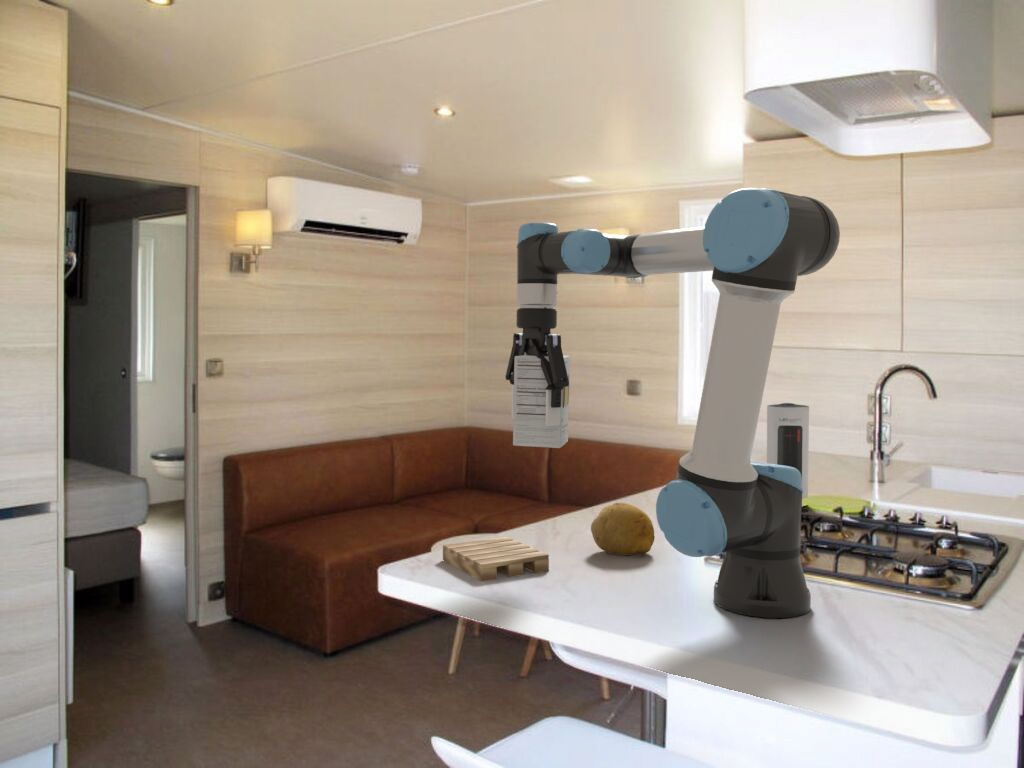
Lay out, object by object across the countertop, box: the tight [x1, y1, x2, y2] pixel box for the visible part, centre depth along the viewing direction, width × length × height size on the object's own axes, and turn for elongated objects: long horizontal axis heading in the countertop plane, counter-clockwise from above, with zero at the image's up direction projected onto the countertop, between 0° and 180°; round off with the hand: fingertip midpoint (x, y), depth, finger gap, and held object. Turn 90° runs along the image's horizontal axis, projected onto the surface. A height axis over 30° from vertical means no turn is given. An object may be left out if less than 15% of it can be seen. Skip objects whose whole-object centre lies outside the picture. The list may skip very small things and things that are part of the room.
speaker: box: [766, 402, 810, 499], centre depth 220 cm, size 11×10×26 cm
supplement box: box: [512, 355, 571, 449], centre depth 161 cm, size 10×9×17 cm
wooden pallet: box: [442, 536, 550, 582], centre depth 161 cm, size 16×14×3 cm
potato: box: [590, 502, 656, 556], centre depth 171 cm, size 10×12×10 cm
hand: (535, 421), depth 161 cm, fingers closed on supplement box, 12 cm apart
